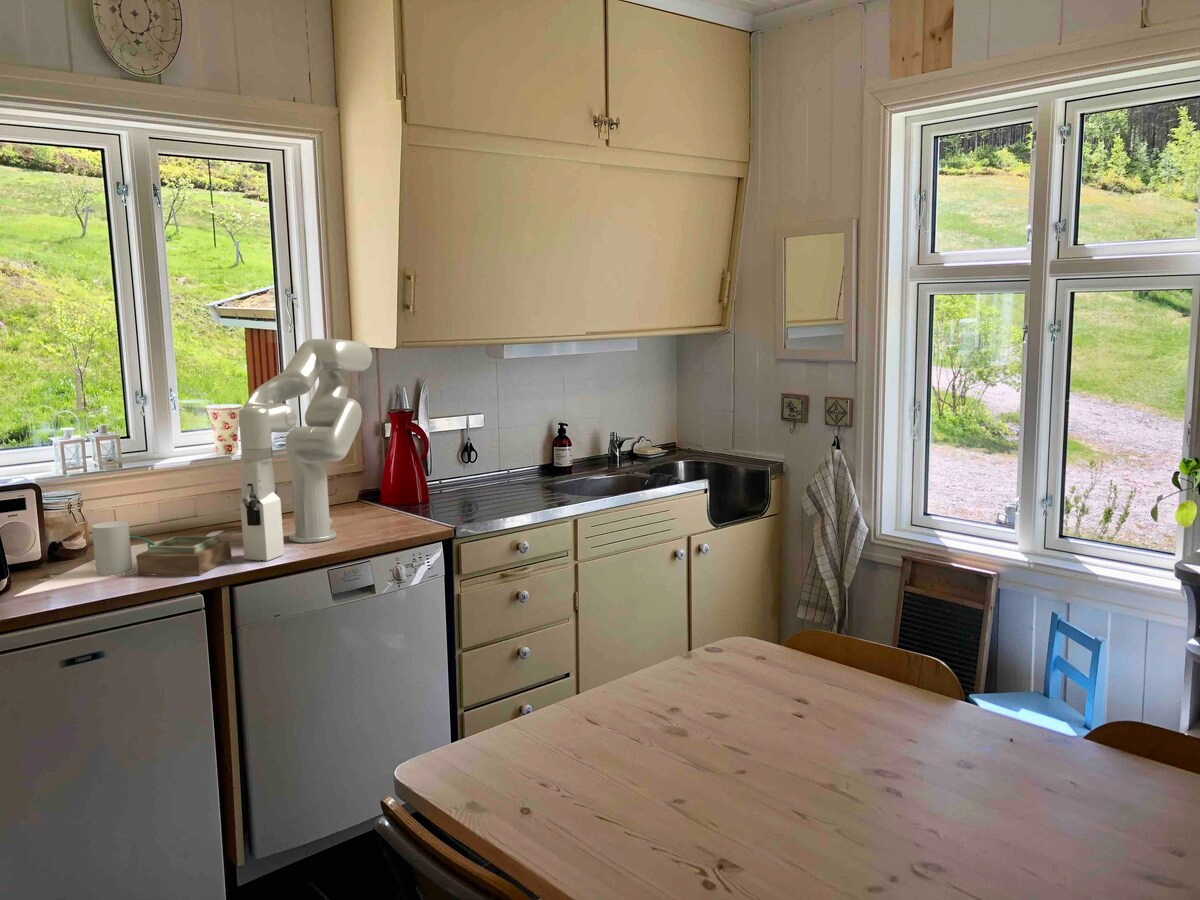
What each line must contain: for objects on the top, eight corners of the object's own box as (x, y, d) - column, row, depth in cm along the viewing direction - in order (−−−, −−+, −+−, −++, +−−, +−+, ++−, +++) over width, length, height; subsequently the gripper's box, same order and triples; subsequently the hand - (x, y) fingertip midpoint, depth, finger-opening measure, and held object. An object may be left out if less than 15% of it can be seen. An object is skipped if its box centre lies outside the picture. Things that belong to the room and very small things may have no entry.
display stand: (173, 558, 255) (171, 534, 254) (231, 559, 253) (229, 534, 252) (137, 575, 239) (135, 549, 238) (199, 575, 237) (197, 549, 236)
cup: (139, 567, 246) (135, 521, 245) (120, 576, 238) (116, 528, 237) (108, 567, 247) (104, 521, 246) (89, 576, 239) (84, 528, 237)
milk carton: (284, 555, 256) (279, 483, 253) (267, 561, 249) (261, 488, 247) (262, 553, 258) (256, 482, 256) (244, 560, 252) (238, 487, 249)
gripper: (258, 450, 259) (263, 514, 262) (226, 460, 242) (231, 529, 244) (285, 450, 258) (290, 514, 261) (255, 459, 241) (260, 529, 244)
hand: (261, 521), depth 253 cm, fingers closed on milk carton, 8 cm apart
